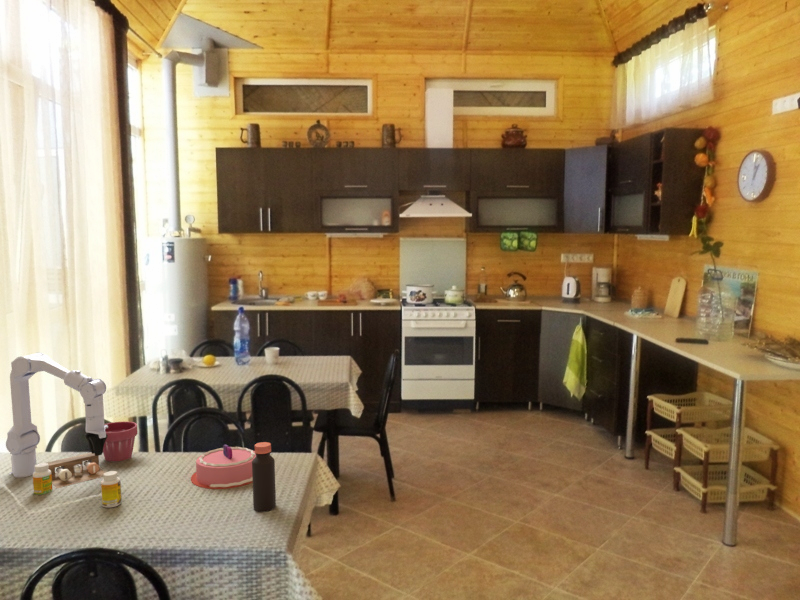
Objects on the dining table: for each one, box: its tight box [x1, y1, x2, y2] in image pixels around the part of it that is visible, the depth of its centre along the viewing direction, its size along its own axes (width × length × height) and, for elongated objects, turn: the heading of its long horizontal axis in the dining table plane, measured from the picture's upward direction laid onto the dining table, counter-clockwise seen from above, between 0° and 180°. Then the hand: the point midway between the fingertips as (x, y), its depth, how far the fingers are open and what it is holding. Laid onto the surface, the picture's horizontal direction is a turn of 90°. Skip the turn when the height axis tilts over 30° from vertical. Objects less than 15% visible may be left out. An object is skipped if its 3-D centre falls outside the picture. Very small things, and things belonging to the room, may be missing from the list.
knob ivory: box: [55, 466, 72, 481], centre depth 218 cm, size 9×4×4 cm, turn 43°
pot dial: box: [74, 464, 83, 478], centre depth 220 cm, size 3×3×4 cm
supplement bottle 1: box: [32, 462, 53, 495], centre depth 207 cm, size 5×5×10 cm
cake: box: [190, 444, 256, 490], centre depth 222 cm, size 25×25×11 cm
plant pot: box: [102, 421, 138, 462], centre depth 240 cm, size 14×14×13 cm
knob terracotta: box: [83, 460, 100, 474], centre depth 225 cm, size 9×4×4 cm, turn 43°
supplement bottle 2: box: [100, 470, 122, 509], centre depth 198 cm, size 6×6×10 cm
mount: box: [46, 452, 107, 489], centre depth 222 cm, size 16×17×6 cm
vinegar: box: [252, 441, 277, 513], centre depth 194 cm, size 7×7×20 cm
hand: (96, 453), depth 218 cm, fingers open, 3 cm apart
